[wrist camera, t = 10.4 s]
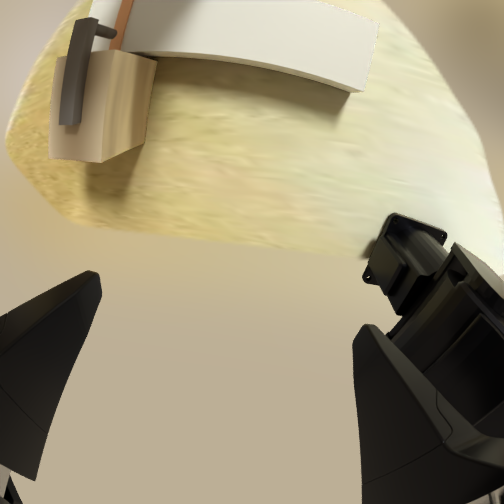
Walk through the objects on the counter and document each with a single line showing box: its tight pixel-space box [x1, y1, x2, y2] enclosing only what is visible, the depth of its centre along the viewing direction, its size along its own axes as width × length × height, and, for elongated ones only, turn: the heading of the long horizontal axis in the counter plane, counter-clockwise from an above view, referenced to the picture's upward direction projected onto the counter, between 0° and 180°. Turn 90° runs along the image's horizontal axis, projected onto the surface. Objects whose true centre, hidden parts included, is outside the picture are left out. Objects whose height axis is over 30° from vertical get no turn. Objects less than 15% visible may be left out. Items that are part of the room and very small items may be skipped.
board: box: [88, 0, 380, 93], centre depth 12 cm, size 18×5×3 cm, turn 78°
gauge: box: [49, 17, 158, 163], centre depth 12 cm, size 4×8×7 cm, turn 168°
